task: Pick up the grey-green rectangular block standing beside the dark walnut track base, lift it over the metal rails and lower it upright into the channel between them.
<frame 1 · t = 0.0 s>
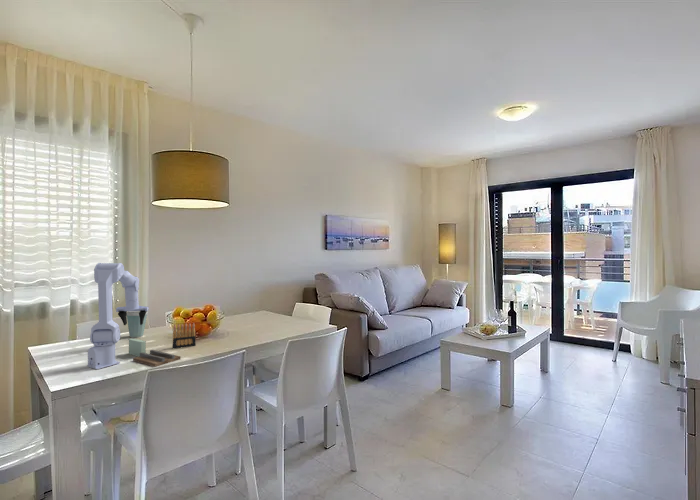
hand: (133, 324, 187), 11 cm above the table, tool pointing down, fingers open, 7 cm apart
track base: (157, 359, 164), on the table
disposable coffee cup: (137, 336, 204), on the table
ammunition clip: (184, 347, 185), on the table
grey-green rectangular block: (137, 355, 171), on the table
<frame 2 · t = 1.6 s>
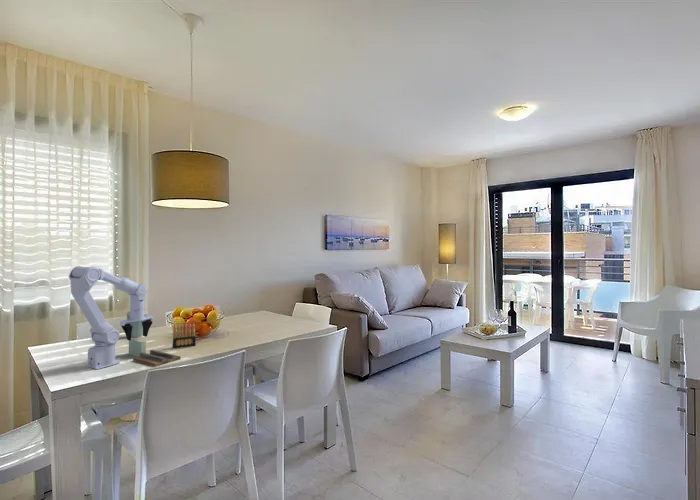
hand: (137, 338, 171), 8 cm above the table, tool pointing down, fingers open, 7 cm apart
nothing on the table moved.
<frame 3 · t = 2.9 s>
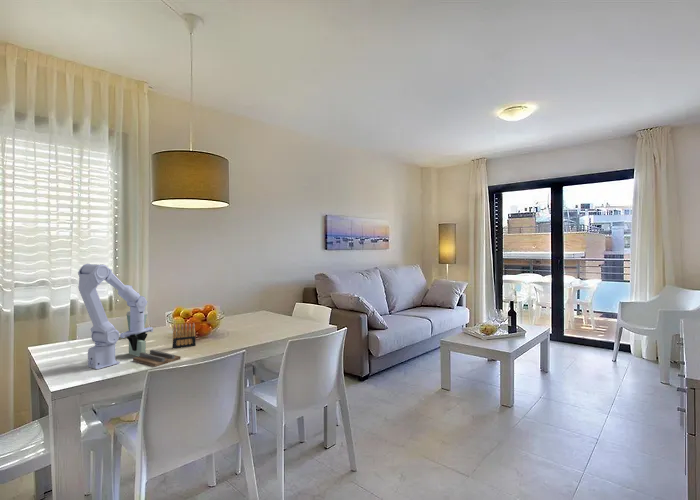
hand: (137, 349, 171), 2 cm above the table, tool pointing down, fingers closed on grey-green rectangular block, 2 cm apart
grey-green rectangular block: (137, 354, 171), on the table, touching gripper
everything else where it was.
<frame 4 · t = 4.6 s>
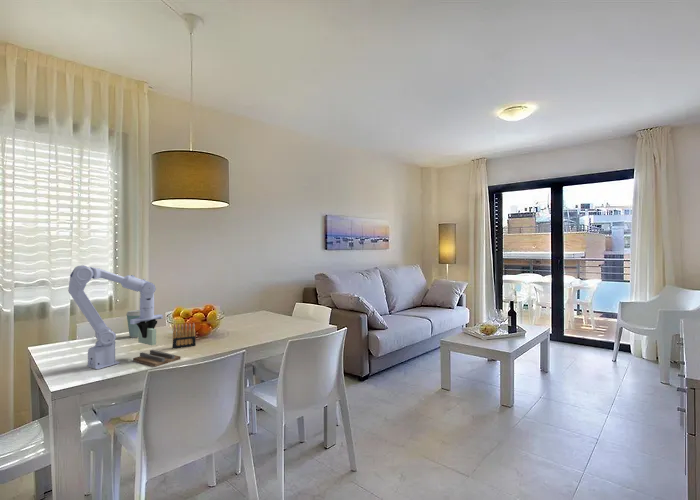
hand: (147, 336, 167), 9 cm above the table, tool pointing down, fingers closed on grey-green rectangular block
grey-green rectangular block: (147, 343, 167), point 6 cm above the table, touching gripper
everything else where it was.
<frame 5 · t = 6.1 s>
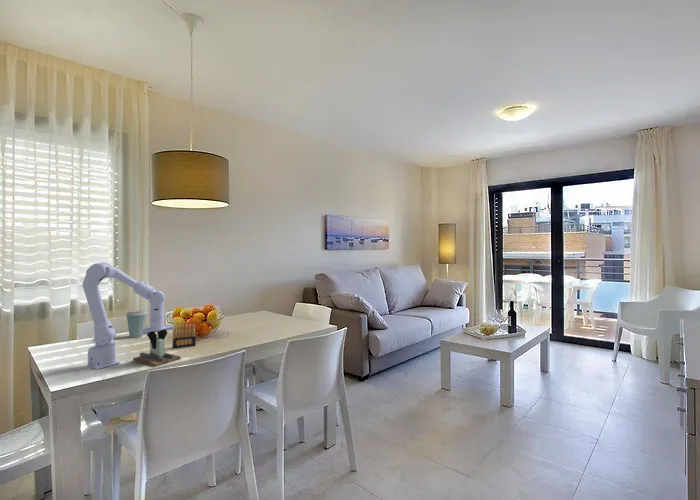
hand: (157, 347, 164), 5 cm above the table, tool pointing down, fingers closed on grey-green rectangular block, 2 cm apart
grey-green rectangular block: (157, 354, 164), point 3 cm above the table, touching gripper, track base
everything else where it was.
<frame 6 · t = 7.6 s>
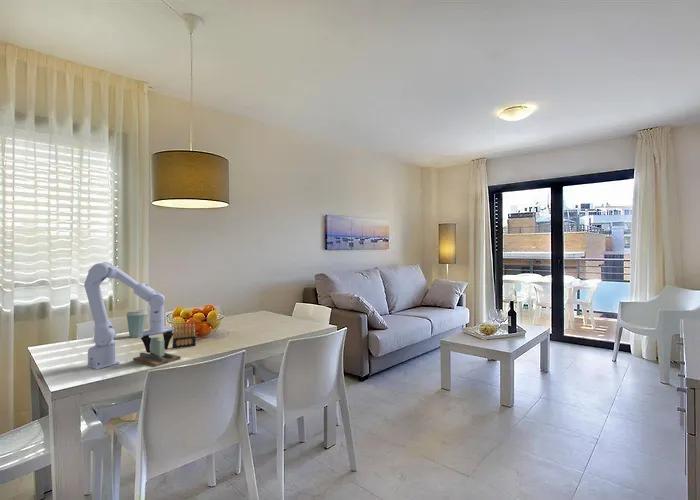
hand: (157, 350, 164), 4 cm above the table, tool pointing down, fingers open, 7 cm apart
grey-green rectangular block: (157, 354, 164), point 3 cm above the table, touching track base
everything else where it was.
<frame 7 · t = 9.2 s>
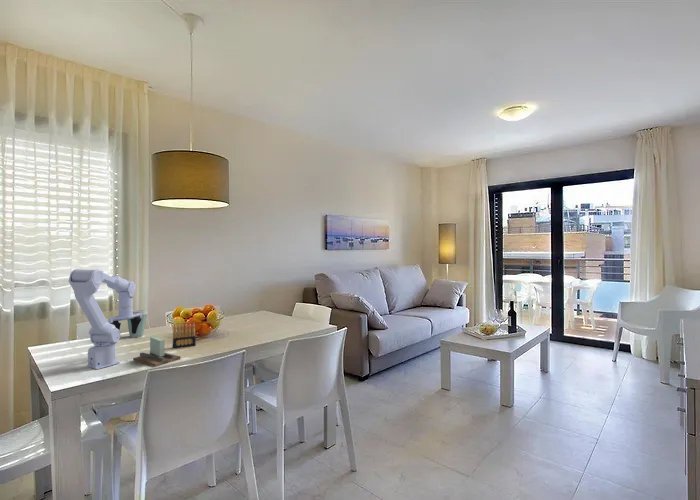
hand: (125, 335, 170), 9 cm above the table, tool pointing down, fingers open, 7 cm apart
nothing on the table moved.
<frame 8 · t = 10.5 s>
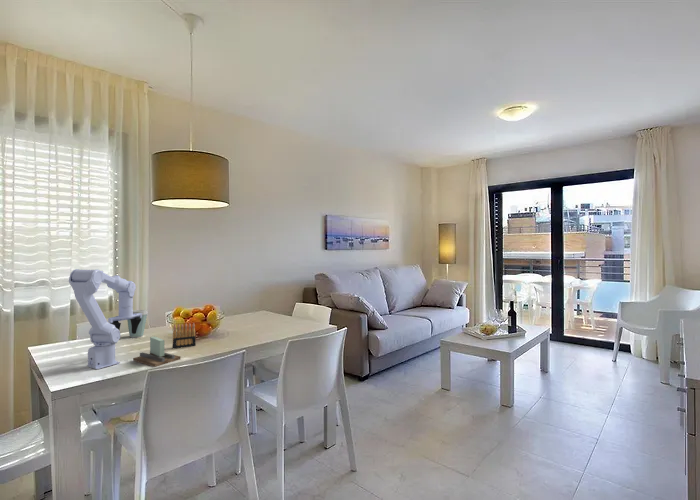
hand: (125, 335, 170), 9 cm above the table, tool pointing down, fingers open, 7 cm apart
nothing on the table moved.
at the end: grey-green rectangular block inside the target area on the track base (0.1 cm from its centre), point 2.7 cm above the track base's base; grey-green rectangular block tilted 0°; the gripper is holding nothing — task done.
